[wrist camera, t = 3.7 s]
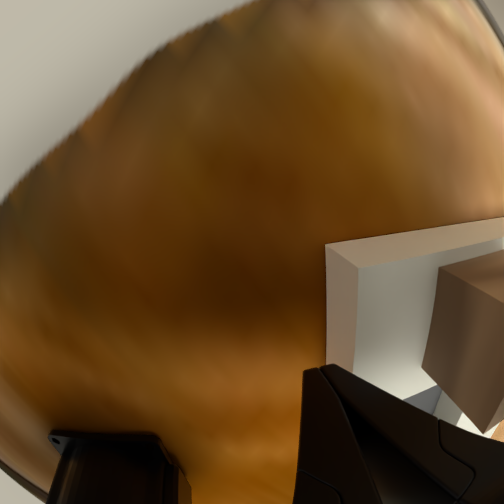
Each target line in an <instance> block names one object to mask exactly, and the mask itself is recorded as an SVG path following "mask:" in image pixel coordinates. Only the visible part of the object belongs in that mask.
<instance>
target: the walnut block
mask: <svg viewBox="0 0 504 504" xmlns="http://www.w3.org/2000/svg"><path fill="white" fill-rule="evenodd" d="M421 368H422V369H423V370H424V371H425V372H426V373H427V374H428V375H429V376H430V377H431V378H432V379H433V381H434V382H435V383H436V384H437V385H438V386H439V387H440V388H441V389H442V390H443V391H444V392H445V393H446V394H447V395H448V397H449V398H450V399H451V400H452V401H453V402H454V403H455V404H456V405H457V406H458V407H459V408H460V410H461V411H462V412H463V413H464V414H465V415H466V416H467V417H468V418H469V419H470V421H471V422H472V423H473V424H474V425H475V426H476V427H477V428H478V430H479V431H480V432H481V433H482V434H485V433H486V432H487V431H489V430H490V429H492V428H493V427H494V426H496V425H497V424H498V423H499V422H501V421H502V420H503V419H504V249H503V250H500V251H496V252H493V253H489V254H486V255H482V256H478V257H475V258H471V259H467V260H464V261H460V262H456V263H452V264H448V265H445V266H441V267H439V268H438V277H437V285H436V293H435V300H434V306H433V313H432V318H431V324H430V329H429V334H428V339H427V344H426V349H425V353H424V357H423V362H422V366H421Z"/></svg>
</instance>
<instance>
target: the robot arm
mask: <svg viewBox="0 0 504 504" xmlns="http://www.w3.org/2000/svg"><path fill="white" fill-rule="evenodd" d="M48 439H49V441H50V442H51V443H52V445H53V446H54V447H55V448H56V450H57V451H58V452H59V453H60V455H61V458H60V461H59V464H58V466H57V469H56V472H55V475H54V479H53V482H52V485H51V488H50V491H49V494H48V498H47V501H46V504H192V499H191V486H190V485H189V483H188V481H187V480H186V478H185V476H184V475H183V473H182V471H181V469H180V468H179V467H178V466H177V465H176V464H173V462H172V460H171V459H170V457H169V455H168V453H167V451H166V450H165V448H164V446H163V444H162V442H161V441H160V439H159V438H157V437H155V436H152V435H112V434H91V433H78V432H68V431H59V430H51V431H50V432H49V435H48ZM292 504H504V442H500V441H497V440H493V439H490V438H487V437H484V436H481V435H478V434H475V433H472V432H469V431H467V430H464V429H462V428H460V427H457V426H455V425H453V424H451V423H448V422H446V421H444V420H442V419H438V418H437V417H436V416H434V415H431V414H429V413H427V412H425V411H423V410H421V409H419V408H417V407H415V406H413V405H411V404H409V403H407V402H405V401H403V400H402V399H400V398H398V397H396V396H394V395H392V394H390V393H388V392H386V391H384V390H382V389H380V388H379V387H377V386H375V385H373V384H371V383H369V382H367V381H366V380H364V379H362V378H360V377H358V376H356V375H355V374H353V373H351V372H349V371H347V370H345V369H344V368H342V367H340V366H338V365H337V364H334V363H332V364H328V365H324V366H320V367H319V368H317V367H315V368H311V369H307V370H304V371H303V379H302V401H301V419H300V435H299V449H298V462H297V473H296V482H295V490H294V497H293V503H292Z"/></svg>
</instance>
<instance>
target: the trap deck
mask: <svg viewBox="0 0 504 504" xmlns="http://www.w3.org/2000/svg"><path fill="white" fill-rule="evenodd" d="M503 249H504V217H500V218H494V219H487V220H481V221H474V222H468V223H461V224H455V225H448V226H442V227H435V228H429V229H422V230H416V231H409V232H402V233H396V234H389V235H383V236H376V237H369V238H363V239H356V240H349V241H343V242H336V243H330V244H325V254H326V292H327V340H326V365H328V364H332V363H334V364H337V365H338V366H340V367H342V368H344V369H345V370H347V371H349V372H351V373H353V374H355V375H356V376H358V377H360V378H362V379H364V380H366V381H367V382H369V383H371V384H373V385H375V386H377V387H379V388H380V389H382V390H384V391H386V392H388V393H390V394H392V395H394V396H396V397H398V398H400V399H402V400H403V401H405V402H407V403H409V404H411V405H413V406H415V407H417V408H419V409H421V410H423V411H425V412H427V413H429V414H431V415H434V416H436V417H437V418H438V419H442V420H444V421H446V422H448V423H451V424H453V425H455V426H457V427H460V428H462V429H464V430H467V431H469V432H472V433H475V434H478V435H481V436H484V437H487V438H490V437H491V436H492V434H493V433H494V431H495V429H496V428H497V426H498V424H499V423H500V422H499V423H498V424H497V425H496V426H494V427H493V428H492V429H490V430H489V431H487V432H486V433H485V434H482V433H481V432H480V431H479V430H478V428H477V427H476V426H475V425H474V424H473V423H472V422H471V421H470V419H469V418H468V417H467V416H466V415H465V414H464V413H463V412H462V411H461V410H460V408H459V407H458V406H457V405H456V404H455V403H454V402H453V401H452V400H451V399H450V398H449V397H448V395H447V394H446V393H445V392H444V391H443V390H442V389H441V388H440V387H439V386H438V385H437V384H436V383H435V382H434V381H433V379H432V378H431V377H430V376H429V375H428V374H427V373H426V372H425V371H424V370H423V369H422V368H421V366H422V362H423V357H424V353H425V349H426V344H427V339H428V334H429V329H430V324H431V318H432V313H433V306H434V300H435V293H436V285H437V277H438V268H439V267H441V266H445V265H448V264H452V263H456V262H460V261H464V260H467V259H471V258H475V257H478V256H482V255H486V254H489V253H493V252H496V251H500V250H503Z"/></svg>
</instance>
